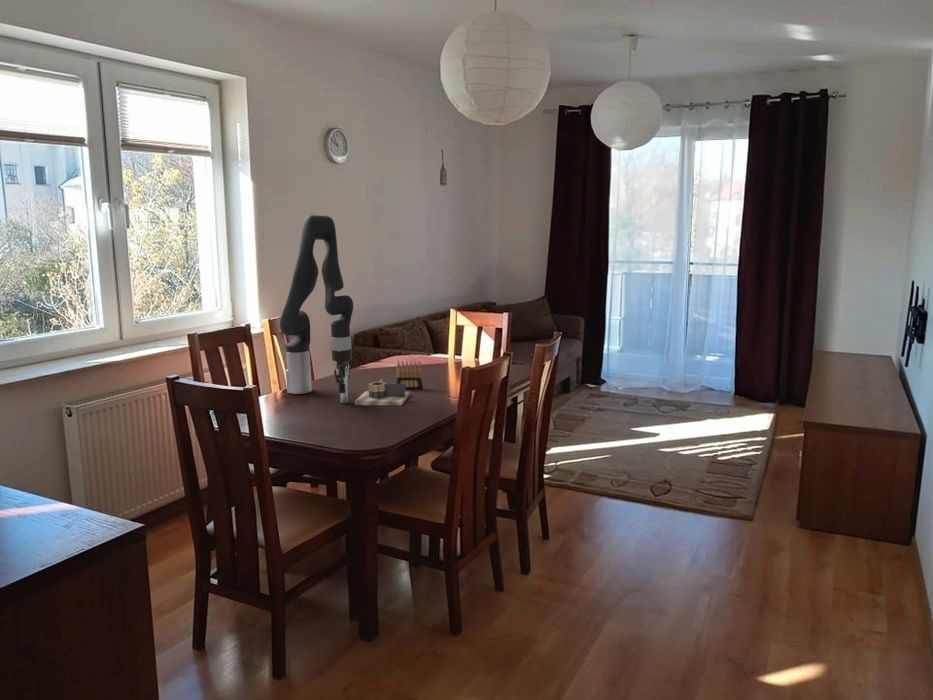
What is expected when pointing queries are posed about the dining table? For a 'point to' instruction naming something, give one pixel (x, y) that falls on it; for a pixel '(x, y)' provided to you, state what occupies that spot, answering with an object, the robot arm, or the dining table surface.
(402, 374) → the ammunition clip
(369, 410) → the dining table surface
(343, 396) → the hinge pin
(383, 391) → the base plate with nut
